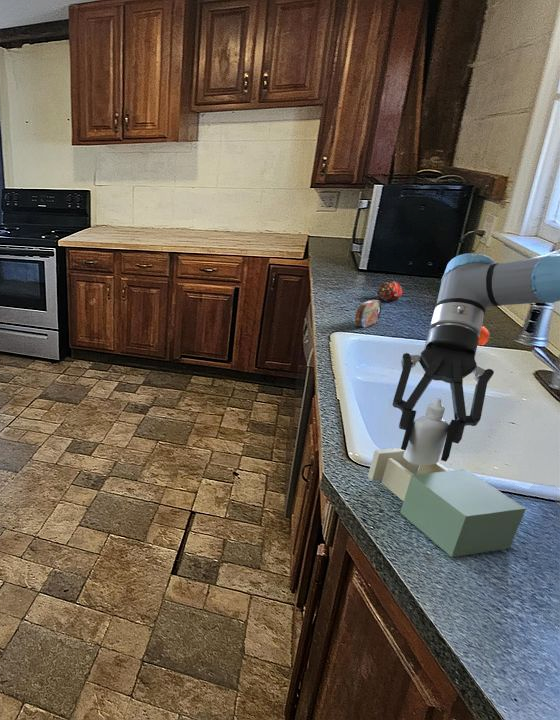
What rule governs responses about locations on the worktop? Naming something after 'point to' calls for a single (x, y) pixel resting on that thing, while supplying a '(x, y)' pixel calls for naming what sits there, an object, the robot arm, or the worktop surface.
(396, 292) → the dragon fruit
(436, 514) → the cabinet
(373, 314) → the sandwich
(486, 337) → the red tomato
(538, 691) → the worktop surface
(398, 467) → the drawer
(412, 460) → the eye dropper bottle
